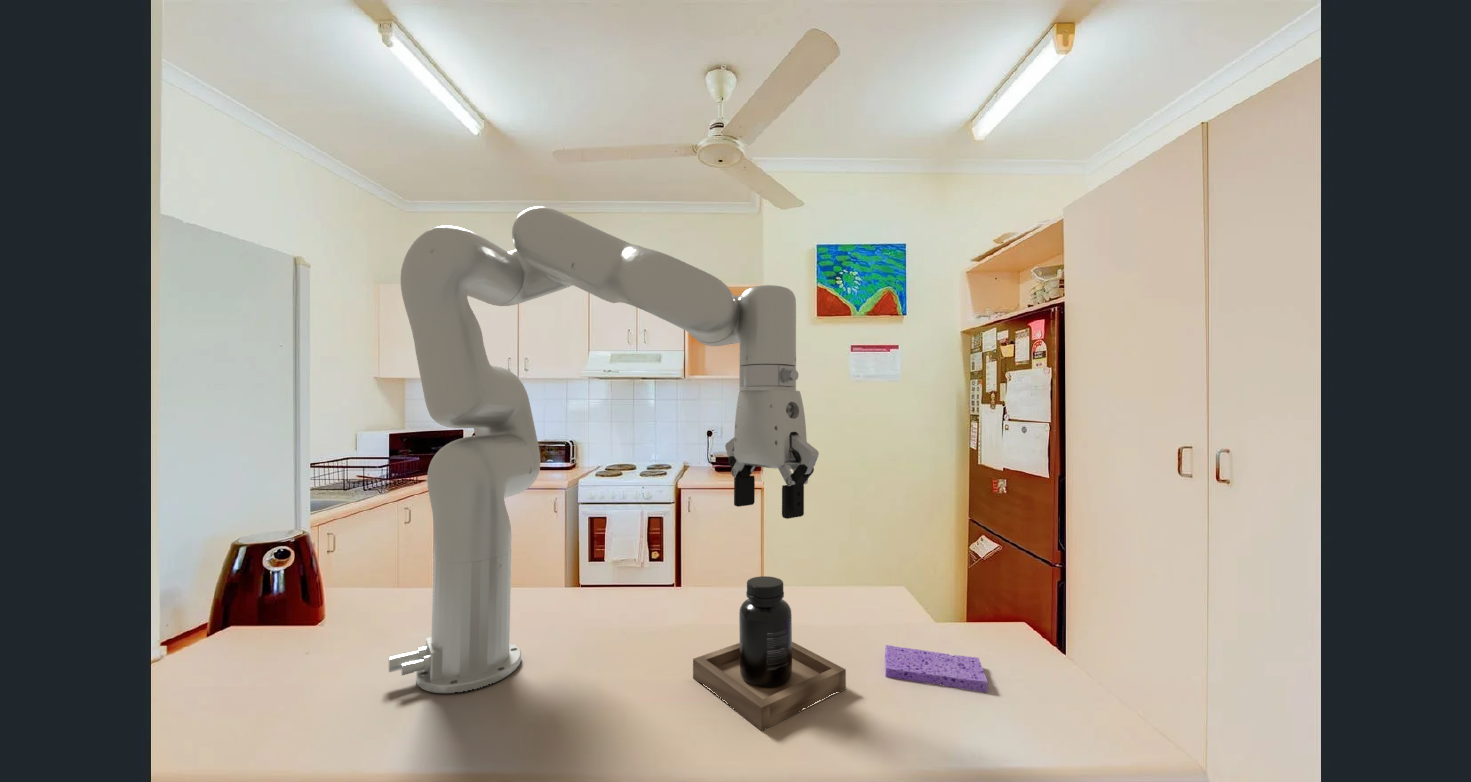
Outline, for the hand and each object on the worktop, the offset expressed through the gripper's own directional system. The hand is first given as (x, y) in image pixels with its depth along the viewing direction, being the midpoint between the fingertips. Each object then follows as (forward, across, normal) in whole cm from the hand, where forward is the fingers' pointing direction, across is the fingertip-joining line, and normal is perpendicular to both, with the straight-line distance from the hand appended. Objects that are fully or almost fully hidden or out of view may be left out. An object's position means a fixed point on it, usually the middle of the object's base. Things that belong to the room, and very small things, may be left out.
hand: (767, 510), depth 67 cm
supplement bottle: (+21, 0, 0) cm, 21 cm away
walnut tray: (+22, 0, 0) cm, 22 cm away
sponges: (+23, -11, -20) cm, 32 cm away
